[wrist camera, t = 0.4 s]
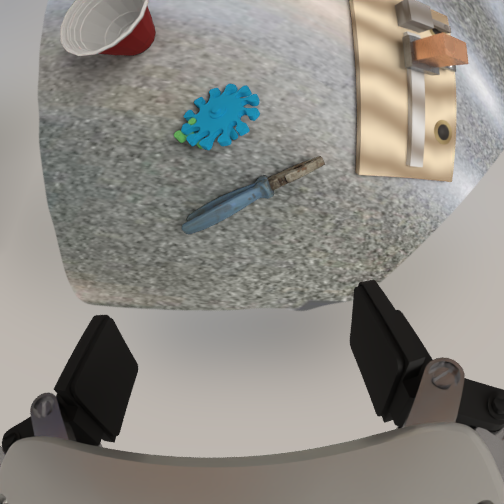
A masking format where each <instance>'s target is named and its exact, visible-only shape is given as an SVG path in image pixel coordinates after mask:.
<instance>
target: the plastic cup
mask: <svg viewBox="0 0 504 504" xmlns="http://www.w3.org/2000/svg"><path fill="white" fill-rule="evenodd" d="M148 2H149V0H75V2H74V3H73V4H72V6H71V7H70V8H69V10H68V11H67V12H66V15H65V17H64V20H63V22H62V25H61V28H60V36H61V43H62V45H63V46H64V48H65V49H66V51H67V52H69V53H72V54H75V55H77V56H85V55H94V54H109V55H126V56H127V55H137V54H139V53H142V52H144V51H145V50H146V49H147V48H149V47H150V45H151V44H152V42H153V41H154V37H155V27H154V24H153V22H152V17H151V15H150V12H149V9H148V6H147V5H148Z"/></svg>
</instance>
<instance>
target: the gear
mask: <svg viewBox="0 0 504 504" xmlns="http://www.w3.org/2000/svg"><path fill="white" fill-rule="evenodd" d="M237 90H238V89H237V87H236V85H234V84H228V85H227V86H226V88H225V91H224V92H223V93H222V94H221V92H220V90H219V89H218V88H214V89H211V90H210V91H209V93H210V99H209V101H208V103H207V104H206V101H205V100H204V99H203V97H200V98H198V99H196V100H195V101H194V104H195V105H196V106H197V107H198V108H200V111H199V113H198V114H196V115H195V114H194V112H193V111H192V110H188V111H187V112H186V113H185V115H184V118H185V119H186V120H187V121H188V123H185V124H183V126H182V129H181V131H180V130H179V131H176V132H175V134H174V137H175V138H176V139H177V140H178V141H179V142H180V143H183V142H184V141H185V140H186V139H187V141H188V142H189V144H190V145H191V146H195V145H197V146H198V147H199V148H200V149H202V148H203V149H205V150H210V149H211V148H212V145H213V142H214V140H215V139H216V138H217V136H219V135H220V134H221V133H222V134H221V135H220V136H219V138H218V143H219V144H220V145H221V146H228V145H230V144H231V142H232V141H231V139H232V140H235V139H237V138H238V134H239V135H240V136H242V135H244V134H246V133H248V132H249V131H250V129H249V127H248V126H247V124H246V123H244V122H242V121H241V117H242V116H243V115H248V117H249V119H250V120H252V121H255V120H256V119H257V118H258V117H259V115H260V113H259V111H258V109H257V108H245V107H243V106H244V105H246V104H250V105H251V106H258V105H259V98H258V95H257V94H253V95H251V94H252V93H251V91H250V89H249V87H248V86H246V85H245V86H243V87H241V88H240V89H239V90H238V91H237ZM220 94H221V95H220ZM250 95H251V96H250ZM247 96H248V97H247ZM240 97H246V98H240ZM235 125H237V126H236V131H237V132H238V134H237V132H236V131H235V129H234V128H233V126H235ZM207 135H209V136H208V137H206V138H204V139H202V138H203V137H205V136H207ZM230 137H231V139H230ZM201 139H202V140H201ZM200 140H201V141H200Z"/></svg>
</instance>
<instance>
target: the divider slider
mask: <svg viewBox="0 0 504 504" xmlns="http://www.w3.org/2000/svg"><path fill="white" fill-rule="evenodd" d="M402 42H403V51H404V63H405V68H407V69H411V70H415V71H418V72H422V73H425V74H428V75H431V76H433V75H440V72H439V67H441V68H443V69H444V70H449V71H451V72H456V65H463V64H468V56H467V48H466V43H465V42H463V41H461V40H459V39H456V38H454V37H452V36H450V35H448V34H445V33H443V32H442V33H439V34H435V35H432V36H429V37H425V38H422V39H421V38H418V37H415V36H412V35H406V36H404V37H402Z"/></svg>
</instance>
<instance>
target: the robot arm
mask: <svg viewBox="0 0 504 504" xmlns="http://www.w3.org/2000/svg"><path fill="white" fill-rule="evenodd" d="M350 346H351V349H352V352H353V354H354V357H355V359H356V361H357V364H358V367H359V369H360V372H361V374H362V377H363V379H364V382H365V385H366V387H367V390H368V393H369V395H370V398H371V401H372V403H373V406H374V409H375V412H376V414H377V416H382V418H383V421H384V422H388V421H391V420H393V421H394V423H395V425H397V428H396V429H395V430H391V431H388V432H384V433H380V434H376V435H372V436H369V437H365V438H361V439H357V440H353V441H349V442H344V443H340V444H335V445H330V446H325V447H320V448H315V449H309V450H303V451H296V452H289V453H281V454H272V455H263V456H249V457H227V458H194V457H193V458H192V457H173V456H159V455H149V454H140V453H133V452H126V451H120V450H114V449H108V448H103V447H102V445H101V443H100V442H101V439H103V440H104V441H109V442H115V439H116V436H118V435H119V433H120V430H121V426H122V422H123V418H124V415H125V412H126V408H127V405H128V402H129V398H130V395H131V392H132V388H133V385H134V382H135V379H136V376H137V373H138V364H137V362H136V360H135V359H134V357H133V355H132V354H131V352H130V350H129V348H128V346H127V345H126V343H125V341H124V339H123V337H122V335H121V333H120V332H119V330H118V328H117V326H116V324H115V322H114V320H113V319H112V318H110V317H109V316H108V315H96V316H94V317H93V318H92V320H91V322H90V323H89V325H88V327H87V328H86V330H85V332H84V333H83V335H82V337H81V339H80V340H79V342H78V344H77V346H76V347H75V349H74V351H73V353H72V355H71V357H70V359H69V360H68V362H67V364H66V366H65V368H64V370H63V372H62V374H61V376H60V378H59V380H58V382H57V384H56V386H55V388H54V390H55V391H56V392H57V395H56V396H55V395H53V394H52V393H43V394H41V395H39V396H38V397H37V398H36V399H35V400H34V401H33V403H32V405H31V409H30V412H31V413H30V414H31V417H29V418H28V419H26V420H24V421H23V422H21V423H19V424H18V425H16V426H14V427H12V428H11V429H9V430H8V431H7V432H6V433H5V434H4V436H3V441H2V447H1V446H0V504H504V390H503V389H499V388H495V387H492V386H489V385H485V384H482V383H479V382H475V381H472V380H469V379H466V378H464V371H463V369H462V367H461V366H460V365H459V364H458V363H457V362H456V361H454V360H452V359H449V358H436V359H434V360H432V358H431V356H430V355H429V353H428V352H427V350H426V348H425V347H424V345H423V344H422V342H421V341H420V339H419V337H418V336H417V334H416V333H415V331H414V330H413V328H412V327H411V325H410V324H409V322H408V321H407V319H406V318H405V317H404V315H403V313H401V311H399V310H395V308H394V307H393V305H392V304H391V302H390V301H389V300H388V298H387V296H386V295H385V294H384V292H383V291H382V289H381V288H380V287H379V285H378V284H377V282H376V281H375V280H370V281H364V282H360V283H359V285H358V287H355V289H354V299H353V312H352V323H351V333H350Z"/></svg>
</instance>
